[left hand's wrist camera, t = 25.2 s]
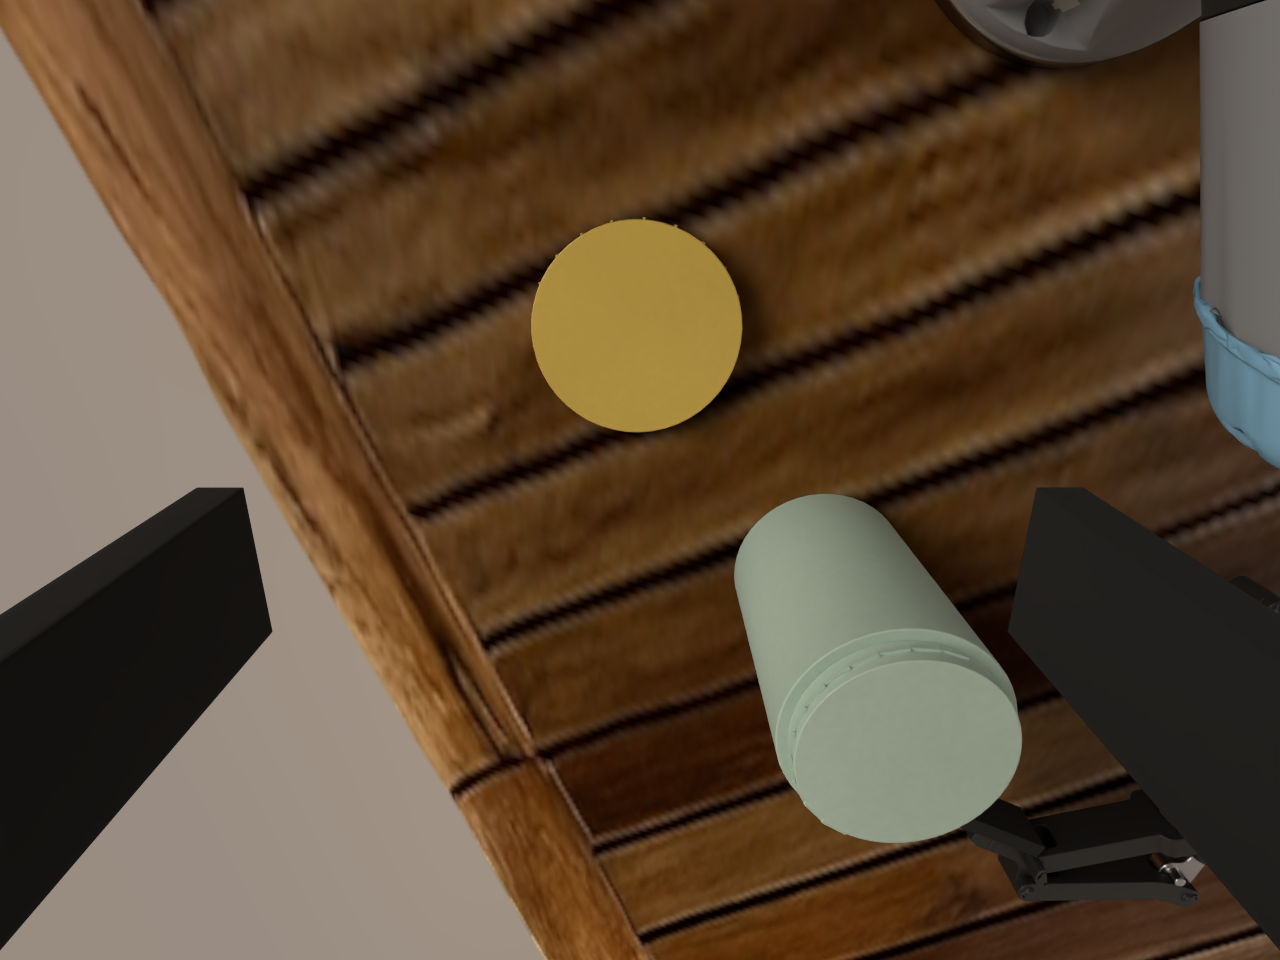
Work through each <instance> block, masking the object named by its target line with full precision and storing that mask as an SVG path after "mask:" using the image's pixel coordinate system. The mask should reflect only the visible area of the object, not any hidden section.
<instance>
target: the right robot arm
mask: <svg viewBox="0 0 1280 960" xmlns="http://www.w3.org/2000/svg"><path fill="white" fill-rule="evenodd" d="M1230 583H1231V584H1233V585H1234V586H1236V587H1238V588H1239V589H1241V590H1242V591H1244V592H1245V593H1247V594H1248V595H1250V596H1251V597H1253V598H1255V599H1256V600H1258V601H1259V602H1261V603H1262V604H1264V605H1265V606H1267V607H1268V608H1270V609H1272V610H1273V611H1275V612H1276V613H1278V614H1279V615H1280V597H1279V596H1278V595H1276V594H1274V593H1273V592H1271V591H1270V590H1268V589H1266V588H1265V587H1263V586H1262V585H1260V584H1258V583H1257V582H1255V581H1253V580H1252V579H1250V578H1249V577H1246V576H1239V577H1237V578H1234V579H1233V580H1232V581H1230ZM1159 810H1160V809H1159V808H1158V807H1157V806H1156V805H1155V804H1154V802H1153V801H1152V800H1151V799H1150V798H1149V797H1148V795H1147V794H1146V793H1145V792H1144V791H1143V790H1142V789H1141V790H1136V791H1134V792H1132V793H1131V798H1130V799H1129V800H1126V801H1121V802H1116V803H1111V804H1106V805H1101V806H1096V807H1091V808H1086V809H1080V810H1075V811H1070V812H1065V813H1060V814H1055V815H1050V816H1045V817H1040V818H1035V819H1030V820H1028V819H1027V817H1026V816H1025V814H1024V812H1023V811H1022V809H1021V808H1020V807H1018V806H1015V805H1013V804H1010V803H1008V802H1005V801H1003V800H1000V799H997V800H996V801H995V802H994V803H993V804H992V805H991V806H990V807H989V808H988V809H986V810H985V811H984V812H983V813H982V814H980V815H979V816H977V817H976V818H974V819H973V820H971V821H970V822H968V823H967V824H965V825H963V826H961V828H963V829H965V830H966V832H967V834H968V836H969V837H970V839H971V841H972V842H973V843H974V844H975V845H976V846H978V847H981V848H984V849H986V850H989V851H992V852H994V853H996V854H999V855H998V860H999V861H1000V863H1001V865H1002V867H1003V869H1004V871H1005V872H1006V874H1007V876H1008V878H1009V880H1010V882H1011V883H1012V885H1013V887H1014V889H1015V891H1016V893H1017V894H1018V896H1019V898H1020V899H1022V900H1025V901H1051V900H1114V899H1158V900H1161V901H1165V902H1169V903H1172V904H1176V905H1180V906H1186V907H1187V906H1191V905H1193V904H1195V903H1196V902H1197V901H1198V900H1199V898H1200V895H1199V893H1198V892H1197V890H1196V889H1195V888H1194V887H1193V886H1192V884H1191V881H1192V880H1193V879H1194V878H1195V876H1196V875H1197V874H1198V873H1199V872H1200V870H1201V869H1202V868H1203V867H1204V865H1207V864H1206V863H1205V862H1204V861H1203V860H1202V859H1201V857H1200V856H1199V855H1198V854H1197V853H1196V852H1195V850H1194V849H1193V848H1192V847H1191V846H1190V845H1189V843H1188V842H1187V841H1186V840H1185V839H1184V838H1183V836H1182V835H1181V834H1180V833H1179V832H1178V831H1177V829H1176V828H1175V827H1174V826H1173V827H1172V826H1171V824H1170V823H1169V822H1168V821H1167V820H1166V819H1165V817H1164V816H1163V815H1162V814H1161V813H1160V812H1159Z"/></svg>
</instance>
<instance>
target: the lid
mask: <svg viewBox="0 0 1280 960" xmlns="http://www.w3.org/2000/svg"><path fill="white" fill-rule="evenodd" d="M610 222H611V223H607V224H604V225H601V226H599V227H596V228H594V229H592V230H590V231H588V232H587V233H585V234H584V232H583V233H581V234H580V235H581V236H580V237H578V238H577V239H576V240H574V241H573V242H572V243H570V244H569V245H568V246H567V247H566V248H565V249H564V250H563V251H562V252H561V253H558V254H556V258H555V260H554V261H553V262H552V264H551V265H550V266H549V268H548V269H547V271H546V273H545V275H544V276H543V278H542V280H541V281H540V282H539V288H538V290H537V293H536V297H535V301H534V305H533V311H532V313H531V316H532V320H531V322H532V340H533V347H534V351H535V355H536V358H537V361H538V364H539V366H540V369H541V371H542V373H543V375H544V377H545V379H546V380H547V382H548V384H549V385H550V387H551V388H552V389H553V391H554V392H555V393H556V395H557V396H558V397H559V398H560V399H561V400H562V401H563V402H564V403H565V404H566V405H567V406H568V407H570V408H571V409H572V410H573V411H575V412H576V413H577V414H579V415H580V416H582V417H584V418H585V419H587V420H589V421H591V422H593V423H596V424H598V425H600V426H603V427H606V428H610V429H613V430H619V431H625V432H648V431H655V430H660V429H665V428H668V427H671V426H673V425H676V424H679V423H681V422H683V421H685V420H687V419H689V418H690V417H692V416H693V415H695V414H696V413H698V412H699V411H701V410H702V409H703V408H704V407H705V406H707V405H708V404H709V403H710V402H711V401H712V400H713V399H714V398H715V397H716V395H717V394H718V393H719V392H720V391H721V389H722V388H723V386H724V385H725V383H726V382H727V380H728V378H729V377H730V375H731V373H732V371H733V369H734V366H735V363H736V361H737V358H738V354H739V350H740V345H741V338H742V330H743V328H742V313H741V307H740V302H739V296H738V295H737V292H736V288H735V286H734V284H733V282H732V280H731V277H730V275H729V273H728V272H727V270H726V269H727V267H726V266H725V265H723V264H722V263H721V261H720V260H719V259H718V258H717V257H716V255H715V254H714V253H713V252H712V251H711V250H710V249H709V248H708V247H707V246H705V244H706V243H705V242H704V241H702V242H701V241H699V240H698V239H696V238H695V237H694V236H692V235H691V234H689V233H688V232H686V231H683V230H681V229H679V228H677V227H678V226H677V225H674V226H672V225H669V224H666V223H663V222H659V221H654V220H648V219H646V218H645V217H643V219H627V220H619V221H615V222H614V221H613V220H611V221H610Z"/></svg>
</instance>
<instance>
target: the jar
mask: <svg viewBox="0 0 1280 960" xmlns="http://www.w3.org/2000/svg"><path fill="white" fill-rule="evenodd" d="M734 578H735V587H736V591H737V595H738V599H739V603H740V608H741V612H742V616H743V620H744V624H745V628H746V632H747V636H748V640H749V644H750V648H751V652H752V656H753V660H754V664H755V668H756V672H757V676H758V680H759V684H760V688H761V692H762V696H763V700H764V705H765V709H766V713H767V717H768V721H769V725H770V729H771V733H772V737H773V741H774V745H775V749H776V753H777V757H778V761H779V764H780V766H781V769H782V771H783V773H784V775H785V777H786V778H787V780H788V781H789V783H790V784H791V786H792V787H793V788H794V789H795V790H796V791H797V792H798V794H799V795H800V797H801V799H802V801H803V803H804V805H805V806H806V807H807V808H808V809H809V810H810V811H811V812H812V813H813V814H814V815H816V816H817V817H818V818H819V819H820V820H821V822H822V823H823V824H825V825H827V826H829V827H831V828H833V829H835V830H837V831H839V832H841V833H843V834H848V835H851V836H854V837H857V838H860V839H864V840H869V841H874V842H884V843H904V842H914V841H919V840H924V839H929V838H933V837H936V836H939V835H943V834H945V833H948V832H950V831H952V830H955V829H957V828H959V827H961V826H963V825H965V824H967V823H968V822H970V821H971V820H973V819H974V818H976V817H977V816H979V815H980V814H982V813H983V812H984V811H985V810H986V809H988V808H989V807H990V806H991V805H992V804H993V803H994V802H995V801H996V800H997V799H998V798H999V797H1000V796H1001V794H1002V793H1003V792H1004V790H1005V789H1006V787H1007V786H1008V785H1009V783H1010V781H1011V779H1012V777H1013V776H1014V774H1015V771H1016V769H1017V766H1018V763H1019V760H1020V755H1021V750H1022V732H1021V725H1020V721H1019V718H1018V712H1017V702H1016V697H1015V694H1014V690H1013V687H1012V685H1011V683H1010V681H1009V678H1008V676H1007V675H1006V673H1005V672H1004V670H1003V669H1002V668H1001V666H1000V665H999V663H998V662H997V661H996V660H995V658H994V657H993V656H992V654H991V653H990V652H989V650H988V649H987V648H986V647H985V645H984V644H983V643H982V641H981V640H980V639H979V638H978V636H977V635H976V634H975V632H974V631H973V630H972V629H971V627H970V626H969V625H968V623H967V622H966V621H965V620H964V618H963V617H962V616H961V614H960V613H959V612H958V611H957V609H956V608H955V607H954V605H953V604H952V603H951V602H950V600H949V599H948V598H947V596H946V595H945V594H944V593H943V591H942V590H941V589H940V587H939V586H938V585H937V583H936V582H935V581H934V580H933V578H932V577H931V576H930V574H929V573H928V572H927V571H926V569H925V568H924V567H923V565H922V564H921V563H920V562H919V560H918V559H917V558H916V556H915V555H914V554H913V553H912V551H911V550H910V549H909V547H908V546H907V545H906V544H905V542H904V541H903V540H902V538H901V537H900V536H899V535H898V533H897V532H896V531H895V529H894V528H893V527H892V526H891V524H890V523H889V522H888V521H887V519H886V518H885V517H884V516H883V515H882V514H881V513H879V512H878V511H877V510H875V509H874V508H873V507H871V506H869V505H868V504H866V503H864V502H862V501H859V500H857V499H854V498H851V497H847V496H843V495H835V494H816V495H808V496H804V497H800V498H796V499H794V500H791V501H788V502H786V503H784V504H782V505H780V506H778V507H776V508H775V509H773V510H772V511H770V512H769V513H767V514H766V515H765V516H764V517H763V518H761V519H760V520H759V521H758V522H757V523H756V524H755V525H754V527H753V528H752V529H751V530H750V532H749V533H748V534H747V536H746V537H745V539H744V541H743V543H742V545H741V547H740V549H739V552H738V555H737V559H736V564H735V574H734Z"/></svg>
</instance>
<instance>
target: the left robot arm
mask: <svg viewBox="0 0 1280 960" xmlns="http://www.w3.org/2000/svg"><path fill="white" fill-rule="evenodd" d="M935 1H936V3H937V4H938V5H939V7H940V8H941V9H942V11H943V12H944V13H945V14H946V16H947V17H948V18H949V19H950V20H951V21H952V22H953V23H954V24H955V25H956V27H957V28H958V29H959V30H961V31H962V32H963V33H964V34H965V35H967V36H968V37H969V38H970V39H971V40H973V41H974V42H976V43H977V44H979V45H980V46H982V47H983V48H985V49H986V50H988V51H990V52H992V53H995V54H997V55H999V56H1001V57H1003V58H1006V59H1009V60H1012V61H1015V62H1018V63H1022V64H1027V65H1031V66H1038V67H1048V68H1067V67H1076V66H1084V65H1089V64H1093V63H1098V62H1102V61H1106V60H1109V59H1112V58H1115V57H1119V56H1122V55H1125V54H1128V53H1131V52H1134V51H1137V50H1140V49H1142V48H1145V47H1147V46H1149V45H1152V44H1154V43H1156V42H1158V41H1160V40H1162V39H1164V38H1166V37H1167V36H1169V35H1171V34H1173V33H1175V32H1177V31H1178V30H1180V29H1181V28H1183V27H1184V26H1186V25H1187V24H1189V23H1190V22H1192V21H1194V20H1195V19H1197V18H1198V17H1200V16H1201V20H1200V21H1202V22H1200V184H1201V275H1200V276H1199V277H1198V278H1196V280H1195V284H1194V290H1193V298H1194V308H1195V310H1196V313H1197V315H1198V317H1199V319H1200V321H1201V322H1202V334H1203V346H1204V358H1205V370H1206V387H1207V393H1208V397H1209V401H1210V403H1211V406H1212V408H1213V410H1214V412H1215V414H1216V416H1217V417H1218V419H1219V420H1220V422H1221V423H1222V425H1223V426H1224V427H1225V428H1226V429H1227V430H1228V431H1229V432H1230V433H1231V434H1232V435H1233V436H1234V437H1235V438H1237V439H1238V440H1239V441H1240V442H1241V443H1242V444H1244V445H1245V446H1247V447H1249V448H1251V449H1253V450H1255V451H1257V452H1258V454H1259V455H1260V457H1262V458H1263V459H1264V460H1265V461H1266V462H1268V463H1270V464H1272V465H1273V466H1275V467H1277V468H1279V469H1280V0H935ZM271 633H272V627H271V622H270V617H269V612H268V608H267V603H266V598H265V593H264V588H263V583H262V578H261V573H260V568H259V563H258V558H257V553H256V548H255V543H254V538H253V533H252V528H251V523H250V519H249V514H248V509H247V504H246V499H245V494H244V489H243V488H196V489H194V490H193V491H191V492H190V493H188V494H186V495H185V496H183V497H182V498H180V499H179V500H177V501H176V502H174V503H173V504H171V505H169V506H168V507H166V508H165V509H163V510H162V511H160V512H159V513H157V514H156V515H154V516H152V517H151V518H149V519H148V520H146V521H145V522H143V523H142V524H140V525H139V526H137V527H135V528H134V529H132V530H131V531H129V532H128V533H126V534H125V535H123V536H121V537H120V538H118V539H117V540H115V541H114V542H112V543H111V544H109V545H107V546H106V547H104V548H103V549H101V550H100V551H98V552H97V553H95V554H94V555H92V556H90V557H89V558H87V559H86V560H84V561H83V562H81V563H80V564H78V565H77V566H75V567H73V568H72V569H70V570H69V571H67V572H66V573H64V574H63V575H61V576H60V577H58V578H56V579H55V580H53V581H52V582H50V583H49V584H47V585H46V586H44V587H43V588H41V589H39V590H38V591H36V592H35V593H33V594H32V595H30V596H29V597H27V598H25V599H24V600H22V601H21V602H19V603H18V604H16V605H15V606H13V607H12V608H10V609H8V610H7V611H5V612H4V613H2V614H1V615H0V950H1V949H2V948H3V946H4V945H5V944H6V943H7V942H8V941H9V939H10V938H11V937H12V936H13V935H14V933H15V932H16V931H17V930H18V929H19V928H20V926H21V925H22V924H23V923H24V922H25V921H26V919H27V918H28V917H29V916H30V915H31V914H32V912H33V911H34V910H35V909H36V908H37V906H38V905H39V904H40V903H41V902H42V901H43V900H44V898H45V897H46V896H47V895H48V894H49V893H50V891H51V890H52V889H53V888H54V887H55V886H56V884H57V883H58V882H59V881H60V880H61V878H62V877H63V876H64V875H65V874H66V873H67V871H68V870H69V869H70V868H71V867H72V866H73V864H74V863H75V862H76V861H77V860H78V859H79V857H80V856H81V855H82V854H83V853H84V852H85V850H86V849H87V848H88V847H89V846H90V845H91V843H92V842H93V841H94V840H95V839H96V837H97V836H98V835H99V834H100V833H101V832H102V830H103V829H104V828H105V827H106V826H107V825H108V823H109V822H110V821H111V820H112V819H113V818H114V816H115V815H116V814H117V813H118V812H119V811H120V809H121V808H122V807H123V806H124V805H125V804H126V802H127V801H128V800H129V799H130V798H131V797H132V795H133V794H134V793H135V792H136V791H137V790H138V788H139V787H140V786H141V785H142V784H143V782H144V781H145V780H146V779H147V778H148V777H149V775H150V774H151V773H152V772H153V771H154V770H155V768H156V767H157V766H158V765H159V764H160V763H161V761H162V760H163V759H164V758H165V757H166V756H167V754H168V753H169V752H170V751H171V750H172V749H173V747H174V746H175V745H176V744H177V743H178V742H179V740H180V739H181V738H182V737H183V736H184V735H185V733H186V732H187V731H188V730H189V729H190V727H191V726H192V725H193V724H194V723H195V722H196V720H197V719H198V718H199V717H200V716H201V715H202V713H203V712H204V711H205V710H206V709H207V708H208V706H209V705H210V704H211V703H212V702H213V701H214V699H215V698H216V697H217V696H218V695H219V693H220V692H221V691H222V690H223V689H224V688H225V687H226V685H227V684H228V683H229V682H230V681H231V680H232V678H233V677H234V676H235V675H236V674H237V672H238V671H239V670H240V669H241V668H242V667H243V665H244V664H245V663H246V662H247V661H248V660H249V658H250V657H251V656H252V655H253V654H254V653H255V651H256V650H257V649H258V648H259V647H260V646H261V644H262V643H263V642H264V641H265V640H266V639H267V637H268V636H269V635H270V634H271ZM1008 633H1009V634H1010V635H1011V636H1012V637H1013V639H1014V640H1015V641H1016V642H1017V643H1018V644H1019V646H1020V647H1021V648H1022V649H1023V650H1024V651H1025V653H1026V654H1027V655H1028V656H1029V657H1030V658H1031V660H1032V661H1033V662H1034V663H1035V664H1036V665H1037V667H1038V668H1039V669H1040V670H1041V671H1042V673H1043V674H1044V675H1045V676H1046V677H1047V678H1048V680H1049V681H1050V682H1051V683H1052V684H1053V685H1054V687H1055V688H1056V689H1057V690H1058V691H1059V692H1060V694H1061V695H1062V696H1063V697H1064V698H1065V699H1066V701H1067V702H1068V703H1069V704H1070V705H1071V706H1072V708H1073V709H1074V710H1075V711H1076V712H1077V713H1078V715H1079V716H1080V717H1081V718H1082V719H1083V720H1084V722H1085V723H1086V724H1087V725H1088V726H1089V728H1090V729H1091V730H1092V731H1093V732H1094V733H1095V735H1096V736H1097V737H1098V738H1099V739H1100V740H1101V742H1102V743H1103V744H1104V745H1105V746H1106V747H1107V749H1108V750H1109V751H1110V752H1111V753H1112V754H1113V756H1114V757H1115V758H1116V759H1117V760H1118V761H1119V763H1120V764H1121V765H1122V766H1123V767H1124V768H1125V770H1126V771H1127V772H1128V773H1129V774H1130V776H1131V777H1132V778H1133V779H1134V780H1135V781H1136V783H1137V784H1138V785H1139V786H1140V787H1141V788H1142V790H1143V791H1144V792H1145V793H1146V794H1147V795H1148V797H1149V798H1150V799H1151V800H1152V801H1153V802H1154V804H1155V805H1156V806H1157V807H1158V808H1159V809H1160V811H1161V812H1162V813H1163V814H1164V815H1165V816H1166V818H1167V819H1168V820H1169V821H1170V822H1171V823H1172V825H1173V826H1174V827H1175V828H1176V829H1177V831H1178V832H1179V833H1180V834H1181V835H1182V836H1183V838H1184V839H1185V840H1186V841H1187V842H1188V843H1189V845H1190V846H1191V847H1192V848H1193V849H1194V850H1195V852H1196V853H1197V854H1198V855H1199V856H1200V857H1201V859H1202V860H1203V861H1204V862H1205V863H1206V864H1207V866H1208V867H1209V868H1210V869H1211V870H1212V871H1213V873H1214V874H1215V875H1216V876H1217V877H1218V878H1219V880H1220V881H1221V882H1222V883H1223V884H1224V886H1225V887H1226V888H1227V889H1228V890H1229V891H1230V893H1231V894H1232V895H1233V896H1234V897H1235V898H1236V900H1237V901H1238V902H1239V903H1240V904H1241V905H1242V907H1243V908H1244V909H1245V910H1246V911H1247V912H1248V914H1249V915H1250V916H1251V917H1252V918H1253V919H1254V921H1255V922H1256V923H1257V924H1258V925H1259V926H1260V928H1261V929H1262V930H1263V931H1264V932H1265V933H1266V935H1267V936H1268V937H1269V938H1270V939H1271V941H1272V942H1273V943H1274V944H1275V945H1276V946H1277V948H1278V949H1279V950H1280V615H1279V614H1278V613H1276V612H1275V611H1273V610H1272V609H1270V608H1268V607H1267V606H1265V605H1264V604H1262V603H1261V602H1259V601H1258V600H1256V599H1255V598H1253V597H1251V596H1250V595H1248V594H1247V593H1245V592H1244V591H1242V590H1241V589H1239V588H1238V587H1236V586H1234V585H1233V584H1231V583H1230V582H1228V581H1227V580H1225V579H1224V578H1222V577H1220V576H1219V575H1217V574H1216V573H1214V572H1213V571H1211V570H1210V569H1208V568H1207V567H1205V566H1203V565H1202V564H1200V563H1199V562H1197V561H1196V560H1194V559H1193V558H1191V557H1190V556H1188V555H1186V554H1185V553H1183V552H1182V551H1180V550H1179V549H1177V548H1176V547H1174V546H1173V545H1171V544H1169V543H1168V542H1166V541H1165V540H1163V539H1162V538H1160V537H1159V536H1157V535H1155V534H1154V533H1152V532H1151V531H1149V530H1148V529H1146V528H1145V527H1143V526H1142V525H1140V524H1138V523H1137V522H1135V521H1134V520H1132V519H1131V518H1129V517H1128V516H1126V515H1125V514H1123V513H1121V512H1120V511H1118V510H1117V509H1115V508H1114V507H1112V506H1111V505H1109V504H1108V503H1106V502H1104V501H1103V500H1101V499H1100V498H1098V497H1097V496H1095V495H1094V494H1092V493H1090V492H1089V491H1087V490H1086V489H1084V488H1037V489H1036V494H1035V499H1034V504H1033V509H1032V514H1031V519H1030V523H1029V528H1028V533H1027V538H1026V543H1025V548H1024V553H1023V558H1022V563H1021V568H1020V573H1019V578H1018V583H1017V588H1016V593H1015V598H1014V603H1013V608H1012V612H1011V617H1010V622H1009V627H1008Z"/></svg>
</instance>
